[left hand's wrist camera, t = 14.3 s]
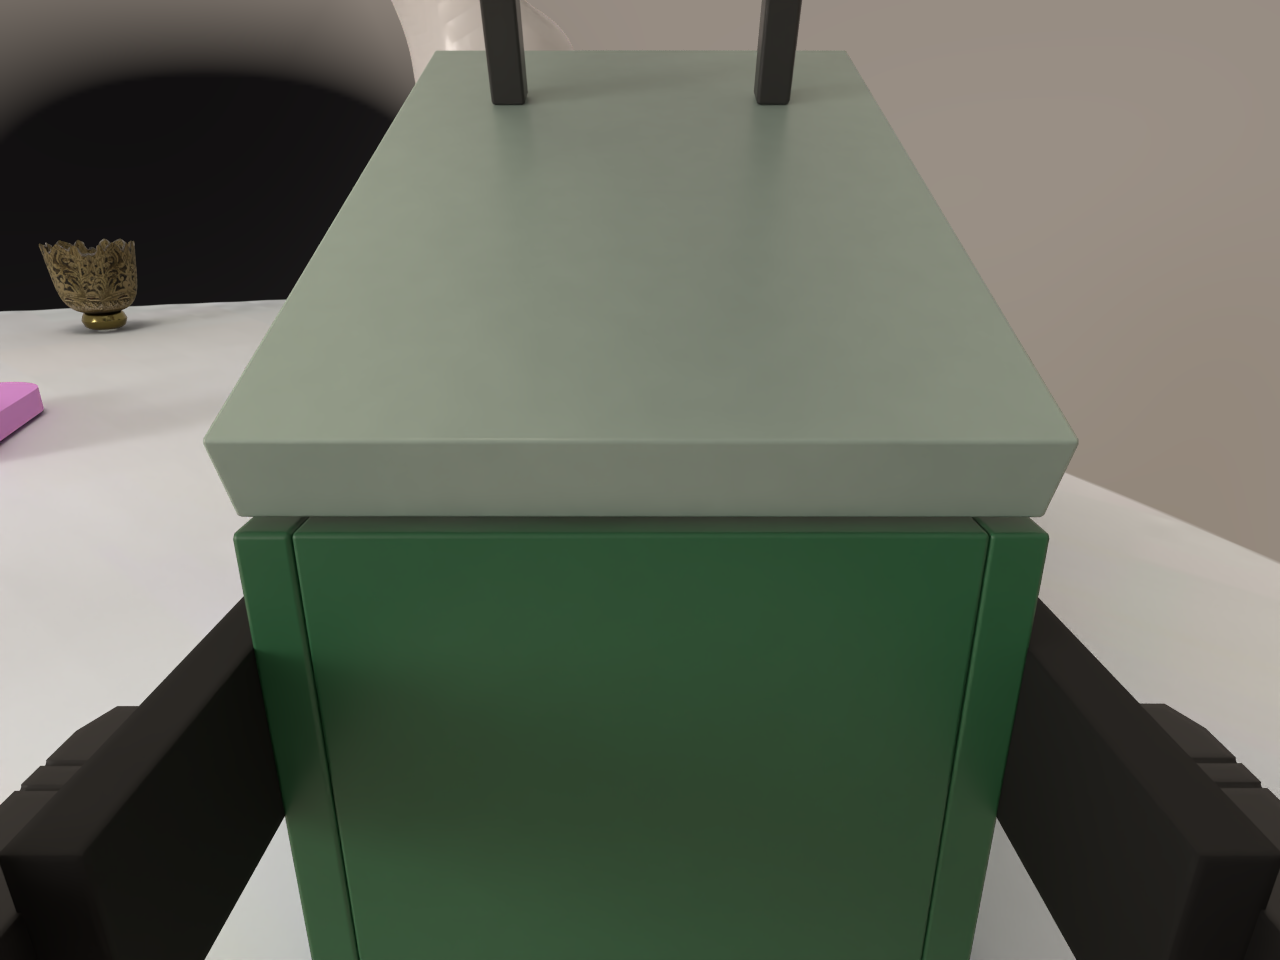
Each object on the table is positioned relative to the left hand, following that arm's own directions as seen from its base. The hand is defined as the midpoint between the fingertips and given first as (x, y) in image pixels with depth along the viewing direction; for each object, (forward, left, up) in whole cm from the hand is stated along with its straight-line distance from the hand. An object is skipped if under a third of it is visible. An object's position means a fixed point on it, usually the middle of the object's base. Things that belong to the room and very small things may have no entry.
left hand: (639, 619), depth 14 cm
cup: (+84, +4, -6) cm, 84 cm away
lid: (+3, -2, +6) cm, 7 cm away
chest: (+3, -2, -6) cm, 8 cm away
